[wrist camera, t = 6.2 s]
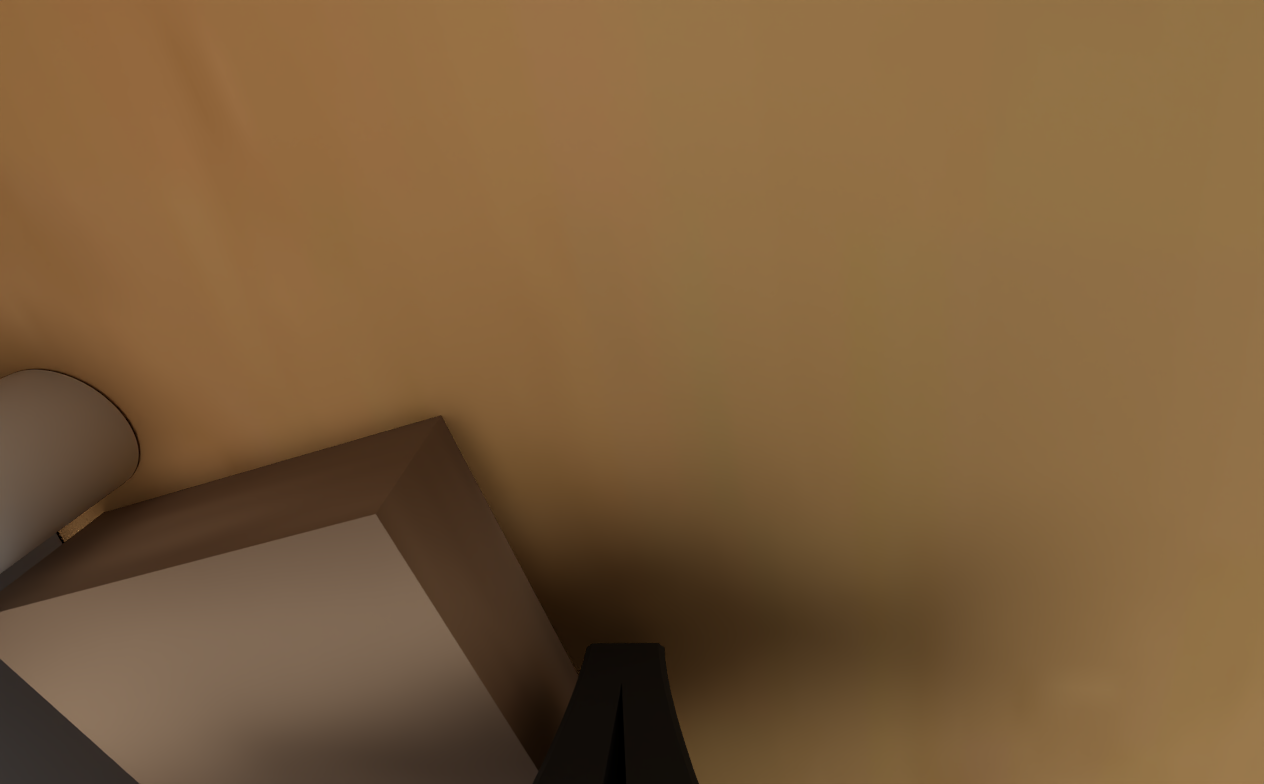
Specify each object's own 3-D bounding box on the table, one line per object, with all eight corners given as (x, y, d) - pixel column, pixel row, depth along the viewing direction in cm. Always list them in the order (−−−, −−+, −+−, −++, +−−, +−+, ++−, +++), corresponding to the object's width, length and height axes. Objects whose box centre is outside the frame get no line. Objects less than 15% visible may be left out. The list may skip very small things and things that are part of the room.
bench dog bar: (360, 909, 17) (259, 1193, 13) (195, 907, 18) (39, 1184, 13) (-63, 22, 8) (-1070, -77, 3) (-417, 43, 8) (-1821, -21, 3)
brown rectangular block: (653, 802, 15) (653, 952, 13) (410, 839, 17) (363, 984, 14) (447, 404, 10) (375, 513, 8) (121, 499, 12) (-40, 622, 9)
